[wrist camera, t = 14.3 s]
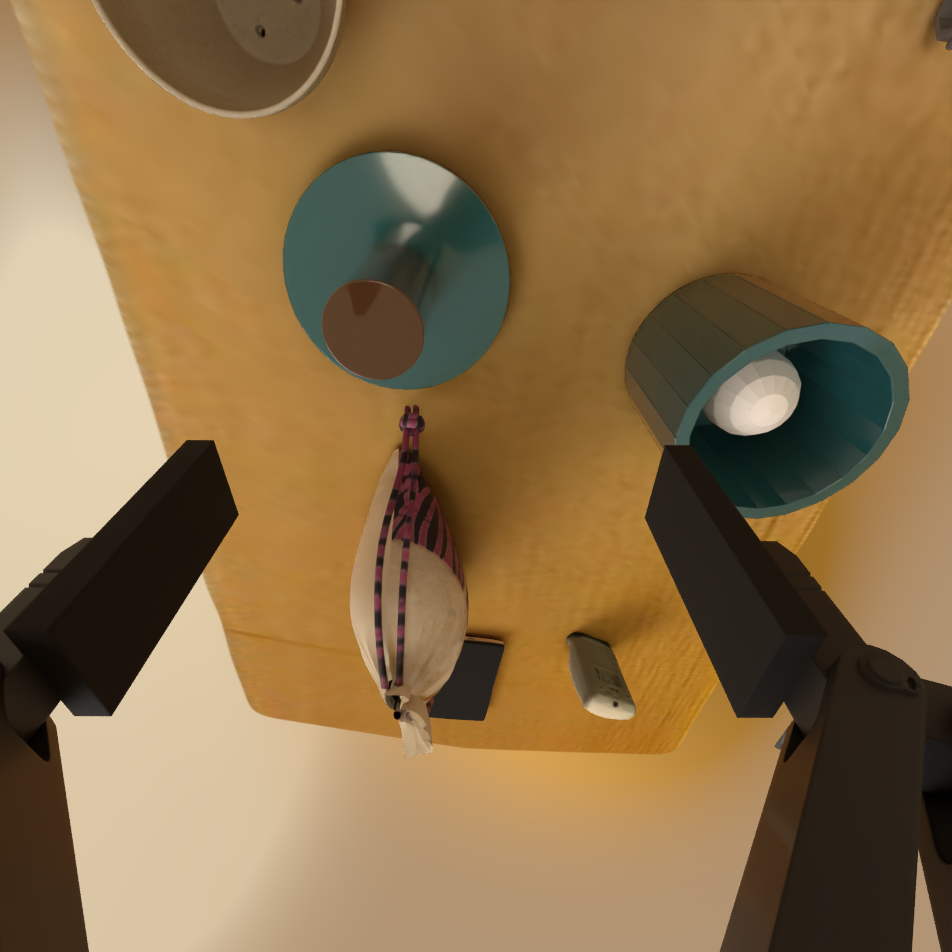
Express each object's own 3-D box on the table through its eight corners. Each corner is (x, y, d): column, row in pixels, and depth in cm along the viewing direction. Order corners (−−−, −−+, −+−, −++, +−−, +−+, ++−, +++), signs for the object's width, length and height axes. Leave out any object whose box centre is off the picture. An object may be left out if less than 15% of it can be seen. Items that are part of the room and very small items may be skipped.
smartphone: (505, 645, 50) (484, 722, 59) (505, 636, 51) (484, 713, 60) (435, 639, 50) (424, 717, 58) (435, 630, 51) (425, 708, 59)
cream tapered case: (620, 626, 51) (642, 698, 44) (615, 657, 54) (634, 728, 47) (566, 628, 51) (579, 700, 44) (563, 658, 54) (576, 730, 47)
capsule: (756, 377, 34) (824, 432, 28) (681, 405, 36) (728, 465, 29) (747, 307, 32) (819, 350, 25) (666, 341, 33) (714, 390, 26)
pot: (779, 236, 30) (904, 275, 21) (806, 389, 35) (914, 468, 27) (601, 328, 33) (646, 395, 24) (652, 454, 39) (704, 544, 30)
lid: (435, 93, 26) (416, 69, 17) (544, 323, 33) (569, 386, 24) (240, 235, 30) (147, 272, 21) (375, 414, 36) (346, 495, 28)
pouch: (485, 614, 50) (490, 832, 34) (406, 621, 50) (376, 839, 34) (442, 391, 35) (418, 588, 20) (333, 405, 36) (227, 606, 20)
